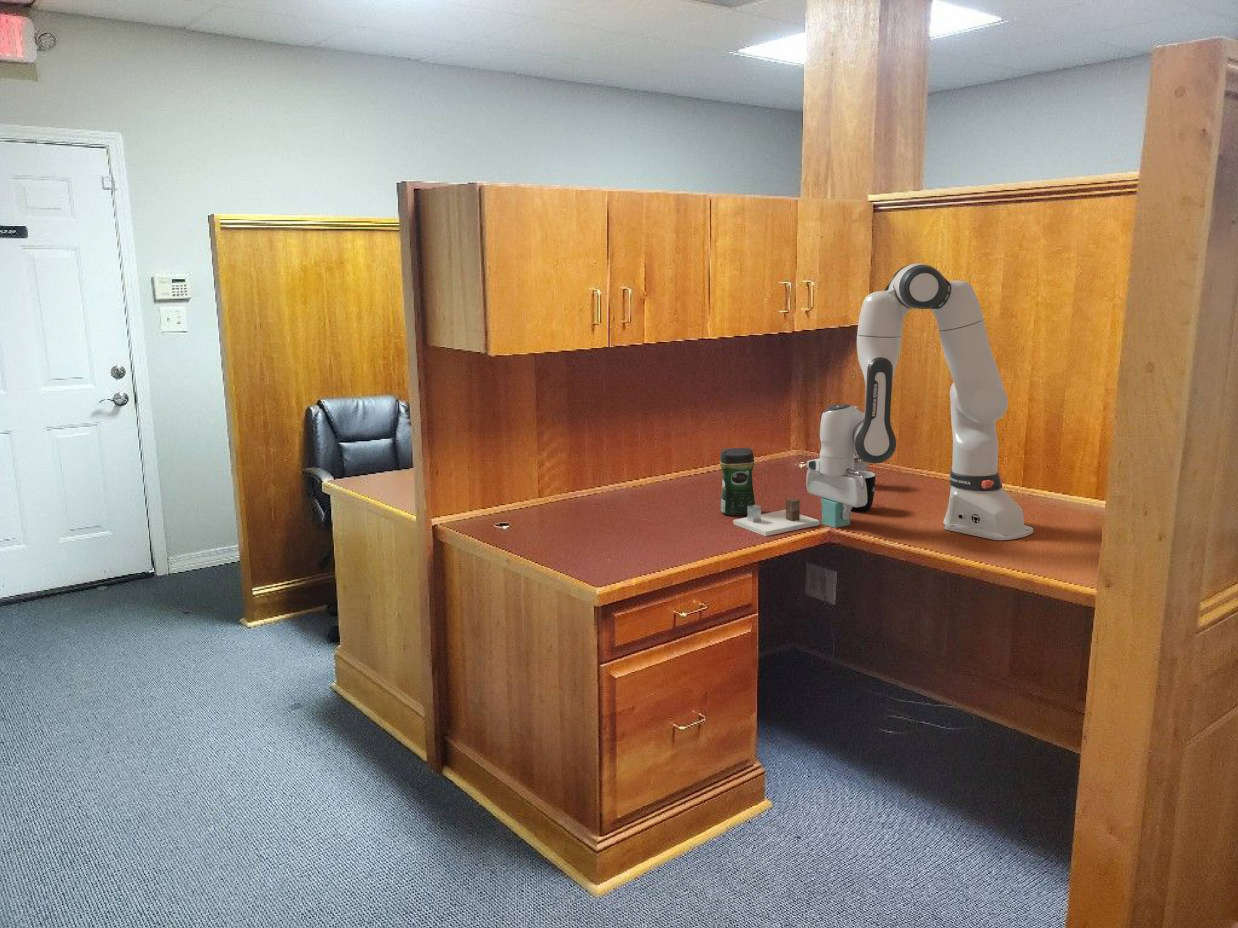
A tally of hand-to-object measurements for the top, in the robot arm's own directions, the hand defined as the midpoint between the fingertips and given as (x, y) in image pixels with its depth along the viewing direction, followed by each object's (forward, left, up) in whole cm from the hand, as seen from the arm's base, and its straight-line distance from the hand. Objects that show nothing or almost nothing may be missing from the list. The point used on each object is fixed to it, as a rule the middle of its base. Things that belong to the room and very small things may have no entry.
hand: (835, 516), depth 259 cm
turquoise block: (0, 0, -2) cm, 2 cm away
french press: (+29, -34, -2) cm, 45 cm away
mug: (+9, -16, -2) cm, 19 cm away
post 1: (+12, +18, -1) cm, 22 cm away
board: (+9, +13, -2) cm, 16 cm away
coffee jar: (+25, +14, -2) cm, 29 cm away
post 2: (+7, +9, -1) cm, 11 cm away
